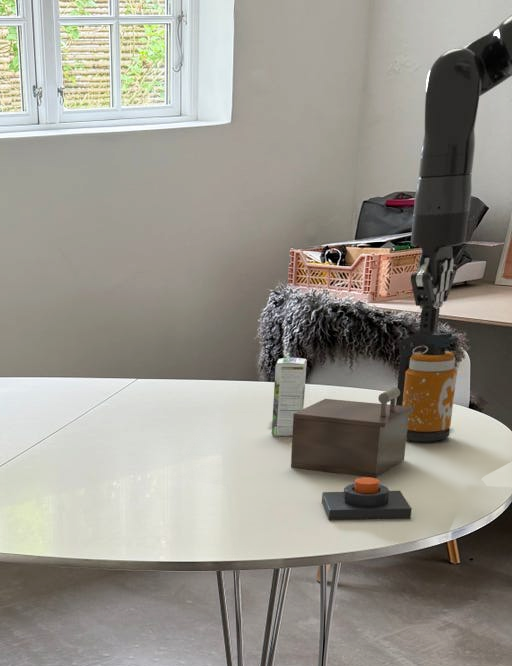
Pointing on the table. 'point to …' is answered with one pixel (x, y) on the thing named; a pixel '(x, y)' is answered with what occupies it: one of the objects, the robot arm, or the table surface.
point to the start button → (366, 485)
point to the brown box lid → (358, 411)
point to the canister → (427, 385)
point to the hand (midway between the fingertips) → (428, 333)
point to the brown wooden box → (348, 447)
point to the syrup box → (288, 394)
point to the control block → (365, 504)
